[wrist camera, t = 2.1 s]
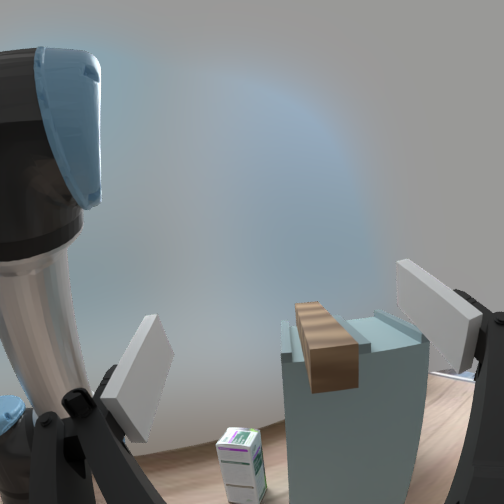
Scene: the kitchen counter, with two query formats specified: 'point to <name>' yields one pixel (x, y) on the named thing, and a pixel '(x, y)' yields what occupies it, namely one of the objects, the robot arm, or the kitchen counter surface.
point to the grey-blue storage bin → (357, 416)
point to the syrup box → (242, 465)
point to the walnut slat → (326, 350)
